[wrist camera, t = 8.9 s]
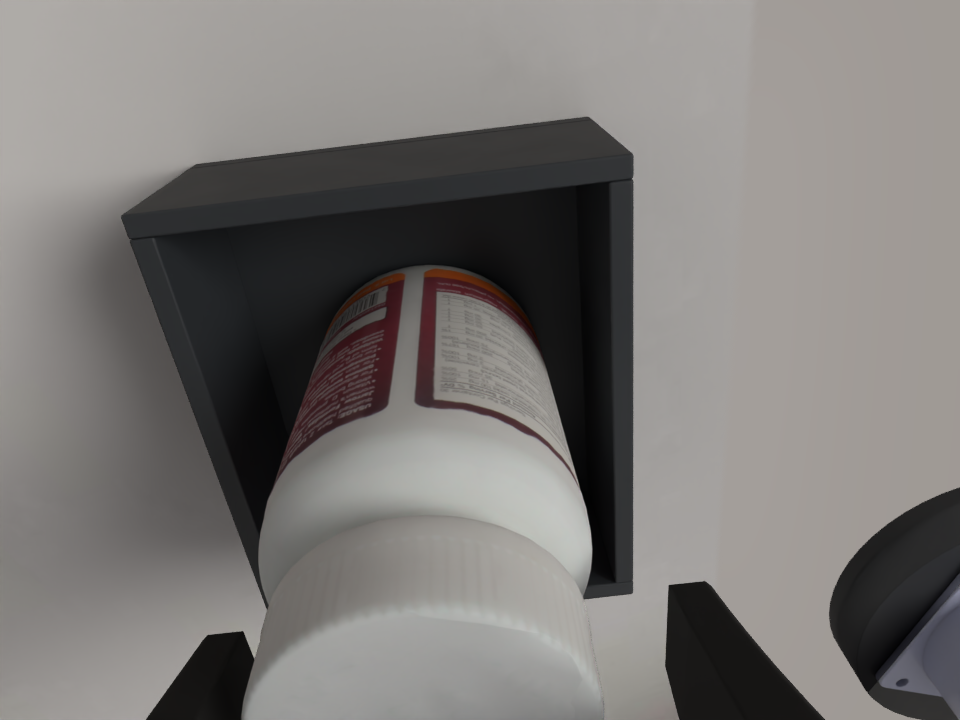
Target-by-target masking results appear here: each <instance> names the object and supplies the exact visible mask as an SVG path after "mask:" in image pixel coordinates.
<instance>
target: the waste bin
mask: <svg viewBox="0 0 960 720" xmlns="http://www.w3.org/2000/svg"><path fill="white" fill-rule="evenodd" d="M632 178H633V154H632V153H631V152H630V151H629V150H627V149H626V148H625V147H624V146H623V145H622V144H620V143H619V142H618V141H617V140H616V139H614V138H613V137H612V136H611V135H610V134H609V133H607V132H606V131H605V130H604V129H603V128H601V127H600V126H599V125H598V124H597V123H596V122H594V121H593V120H592V119H591V118H589V117H582V118H574V119H565V120H557V121H549V122H541V123H533V124H524V125H516V126H508V127H500V128H491V129H483V130H475V131H467V132H458V133H450V134H442V135H434V136H426V137H417V138H409V139H401V140H393V141H384V142H376V143H368V144H360V145H351V146H343V147H335V148H327V149H319V150H310V151H302V152H294V153H286V154H277V155H269V156H261V157H253V158H245V159H236V160H228V161H220V162H212V163H203V164H196V165H194V166H193V167H191V168H190V169H188V170H187V171H185V172H184V173H183V174H181V175H180V176H178V177H177V178H175V179H174V180H172V181H171V182H169V183H168V184H167V185H165V186H164V187H162V188H161V189H159V190H158V191H156V192H155V193H154V194H152V195H151V196H149V197H148V198H146V199H145V200H143V201H142V202H140V203H139V204H138V205H136V206H135V207H133V208H132V209H130V210H129V211H127V212H126V213H124V214H123V215H122V216H121V219H122V222H123V224H124V227H125V230H126V232H127V235H128V237H129V239H131V240H130V243H131V246H132V249H133V251H134V254H135V257H136V259H137V262H138V265H139V268H140V270H141V273H142V276H143V278H144V281H145V284H146V286H147V289H148V292H149V294H150V297H151V300H152V302H153V305H154V308H155V310H156V313H157V316H158V319H159V321H160V324H161V327H162V329H163V332H164V335H165V337H166V340H167V343H168V345H169V348H170V351H171V353H172V356H173V359H174V361H175V364H176V367H177V370H178V372H179V375H180V378H181V380H182V383H183V386H184V388H185V391H186V394H187V396H188V399H189V402H190V404H191V407H192V410H193V412H194V415H195V418H196V421H197V423H198V426H199V429H200V431H201V434H202V437H203V439H204V442H205V445H206V447H207V450H208V453H209V455H210V458H211V461H212V463H213V466H214V469H215V471H216V474H217V477H218V480H219V482H220V485H221V488H222V490H223V493H224V496H225V498H226V501H227V504H228V506H229V509H230V512H231V514H232V517H233V520H234V522H235V525H236V528H237V531H238V533H239V536H240V539H241V541H242V544H243V547H244V549H245V552H246V555H247V557H248V560H249V563H250V565H251V568H252V571H253V573H254V576H255V579H256V582H257V584H258V587H259V590H260V592H261V595H262V598H263V600H264V603H265V606H266V608H267V610H268V606H269V605H268V602H267V600H266V597H265V594H264V591H263V588H262V584H261V579H260V573H259V563H258V552H259V540H260V533H261V528H262V524H263V520H264V514H265V509H266V505H267V501H268V498H269V495H270V493H271V491H272V489H273V486H274V483H275V481H276V477H277V474H278V471H279V468H280V465H281V462H282V459H283V456H284V453H285V450H286V447H287V444H288V441H289V438H290V435H291V433H292V430H293V427H294V424H295V422H296V419H297V416H298V413H299V410H300V407H301V404H302V401H303V398H304V395H305V392H306V390H307V387H308V384H309V381H310V378H311V375H312V372H313V369H314V366H315V363H316V360H317V357H318V354H319V351H320V347H321V345H322V343H323V341H324V338H325V335H326V332H327V330H328V328H329V326H330V324H331V322H332V320H333V318H334V317H335V315H336V313H337V312H338V311H339V309H340V308H341V307H342V305H343V304H344V303H345V302H346V300H347V299H348V298H349V297H350V296H351V295H352V294H353V293H354V292H355V291H357V290H358V289H359V288H361V287H362V286H363V285H365V284H366V283H367V282H369V281H371V280H372V279H374V278H376V277H378V276H380V275H383V274H385V273H388V272H391V271H394V270H397V269H401V268H405V267H411V266H418V265H442V266H451V267H456V268H460V269H465V270H468V271H470V272H473V273H476V274H478V275H481V276H483V277H485V278H487V279H488V280H490V281H492V282H493V283H495V284H496V285H498V286H499V287H500V288H502V289H503V290H505V291H506V292H507V293H508V294H509V295H510V296H511V297H512V298H513V299H514V300H515V301H516V302H517V303H518V304H519V306H520V307H521V308H522V310H523V311H524V313H525V314H526V315H527V317H528V319H529V321H530V323H531V325H532V327H533V329H534V331H535V334H536V337H537V339H538V342H539V345H540V348H541V351H542V354H543V358H544V362H545V366H546V369H547V373H548V377H549V380H550V384H551V387H552V391H553V395H554V398H555V402H556V405H557V409H558V413H559V416H560V420H561V423H562V427H563V431H564V434H565V438H566V442H567V445H568V448H569V452H570V455H571V459H572V462H573V466H574V469H575V473H576V476H577V480H578V483H579V487H580V490H581V493H582V496H583V500H584V503H585V506H586V509H587V515H588V521H589V526H590V530H591V540H592V562H591V571H590V575H589V580H588V584H587V587H586V590H585V593H584V595H583V599H592V598H600V597H609V596H618V595H626V594H632V593H633V180H632Z"/></svg>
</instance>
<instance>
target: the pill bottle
mask: <svg viewBox="0 0 960 720" xmlns="http://www.w3.org/2000/svg"><path fill="white" fill-rule="evenodd" d="M591 562H592V540H591V530H590V526H589V521H588V515H587V509H586V506H585V503H584V500H583V496H582V493H581V490H580V487H579V483H578V480H577V476H576V473H575V469H574V466H573V462H572V459H571V455H570V452H569V448H568V445H567V442H566V438H565V434H564V431H563V427H562V423H561V420H560V416H559V413H558V409H557V405H556V402H555V398H554V395H553V391H552V387H551V384H550V380H549V377H548V373H547V369H546V366H545V362H544V358H543V354H542V351H541V348H540V345H539V342H538V339H537V337H536V334H535V331H534V329H533V327H532V325H531V323H530V321H529V319H528V317H527V315H526V314H525V313H524V311H523V310H522V308H521V307H520V306H519V304H518V303H517V302H516V301H515V300H514V299H513V298H512V297H511V296H510V295H509V294H508V293H507V292H506V291H505V290H503V289H502V288H500V287H499V286H498V285H496V284H495V283H493V282H492V281H490V280H488V279H487V278H485V277H483V276H481V275H478V274H476V273H473V272H470V271H468V270H465V269H460V268H456V267H451V266H442V265H418V266H411V267H405V268H401V269H397V270H394V271H391V272H388V273H385V274H383V275H380V276H378V277H376V278H374V279H372V280H371V281H369V282H367V283H366V284H365V285H363V286H362V287H361V288H359V289H358V290H357V291H355V292H354V293H353V294H352V295H351V296H350V297H349V298H348V299H347V300H346V302H345V303H344V304H343V305H342V307H341V308H340V309H339V311H338V312H337V313H336V315H335V317H334V318H333V320H332V322H331V324H330V326H329V328H328V330H327V332H326V335H325V338H324V341H323V343H322V345H321V347H320V351H319V354H318V357H317V360H316V363H315V366H314V369H313V372H312V375H311V378H310V381H309V384H308V387H307V390H306V392H305V395H304V398H303V401H302V404H301V407H300V410H299V413H298V416H297V419H296V422H295V424H294V427H293V430H292V433H291V435H290V438H289V441H288V444H287V447H286V450H285V453H284V456H283V459H282V462H281V465H280V468H279V471H278V474H277V477H276V481H275V483H274V486H273V489H272V491H271V493H270V495H269V498H268V501H267V505H266V509H265V514H264V520H263V524H262V528H261V533H260V540H259V552H258V563H259V573H260V579H261V584H262V588H263V591H264V594H265V597H266V600H267V602H268V605H269V606H268V610H267V613H266V617H265V620H264V624H263V627H262V630H261V636H260V643H259V647H258V650H257V653H256V657H255V660H254V663H253V667H252V671H251V674H250V678H249V681H248V685H247V688H246V692H245V696H244V701H243V707H242V714H241V720H604V700H603V694H602V689H601V684H600V678H599V673H598V669H597V664H596V660H595V655H594V651H593V646H592V639H591V630H590V624H589V620H588V615H587V611H586V607H585V603H584V599H583V595H584V593H585V590H586V587H587V584H588V580H589V575H590V571H591Z"/></svg>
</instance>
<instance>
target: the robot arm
mask: <svg viewBox="0 0 960 720" xmlns="http://www.w3.org/2000/svg"><path fill="white" fill-rule="evenodd" d="M253 663H254V657H253V655H252V652H251V650H250V647H249V645H248V642H247V640H246V637H245V635H244V632H243V631H241V632H232V633H223V634H213V635H207V636H206V638H205V639H204V640H203V641H202V642H201V644H200V645H199V647H198V648H197V649H196V651H195V652H194V653H193V655H192V656H191V658H190V659H189V660H188V662H187V663H186V665H185V666H184V667H183V669H182V670H181V672H180V673H179V674H178V676H177V677H176V679H175V680H174V681H173V683H172V684H171V686H170V687H169V688H168V690H167V691H166V693H165V694H164V695H163V697H162V698H161V699H160V701H159V702H158V704H157V705H156V706H155V708H154V709H153V710H152V712H151V713H150V715H149V716H148V717H147V719H146V720H241V714H242V707H243V701H244V696H245V692H246V688H247V685H248V681H249V678H250V674H251V671H252V667H253ZM665 667H666V670H667V674H668V678H669V682H670V686H671V690H672V694H673V698H674V702H675V705H676V709H677V713H678V716H679V720H825V719H824V718H823V717H822V716H821V715H820V714H819V713H818V712H817V711H816V710H815V709H814V707H813V706H812V705H811V704H810V703H809V702H808V701H807V700H806V699H805V698H804V697H803V695H802V694H801V693H800V692H799V691H798V690H797V689H796V688H795V687H794V685H793V684H792V683H791V682H790V681H789V680H788V679H787V678H786V677H785V676H784V674H782V672H781V671H780V670H779V669H778V668H777V667H776V665H775V664H774V663H773V662H772V661H771V660H770V658H769V657H768V656H767V655H766V654H765V653H764V651H763V650H762V649H761V648H760V647H759V646H758V644H757V643H756V642H755V641H754V639H752V637H751V636H750V635H749V634H748V632H747V631H746V630H745V629H744V627H743V626H742V625H741V624H740V623H739V621H738V620H737V619H736V617H735V616H734V615H733V614H732V613H731V611H730V610H729V609H728V607H727V606H726V605H725V603H724V602H723V601H722V600H721V598H720V597H719V596H718V594H717V593H716V592H715V590H714V589H713V588H712V586H711V585H709V584H708V583H707V582H705V581H703V582H694V583H684V584H675V585H669V590H668V614H667V638H666V662H665ZM876 679H877V681H878V682H879V684H880V685H881V686H882V687H885V688H891V689H897V690H903V691H909V692H916V693H922V694H928V695H934V696H941V697H943V698H944V700H945V701H946V703H947V704H948V705H949V707H950V708H951V710H952V711H953V712H954V714H955V715H956V717H957V718H958V719H959V720H960V573H959V574H958V575H957V577H956V578H955V579H954V580H953V581H952V583H951V584H950V585H949V586H948V587H947V589H946V590H945V591H944V592H943V593H942V594H941V596H940V597H939V598H938V599H937V600H936V602H935V603H934V604H933V605H932V606H931V608H930V609H929V610H928V611H927V612H926V614H925V615H924V616H923V617H922V618H921V620H920V621H919V622H918V623H917V624H916V626H915V627H914V628H913V629H912V630H911V632H910V633H909V634H908V635H907V636H906V638H905V639H904V640H903V641H902V642H901V644H900V645H899V646H898V647H897V648H896V650H895V651H894V652H893V653H892V654H891V656H890V657H889V658H888V659H887V660H886V662H885V663H884V664H883V665H882V666H881V668H880V669H879V670H878V671H877V673H876Z"/></svg>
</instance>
